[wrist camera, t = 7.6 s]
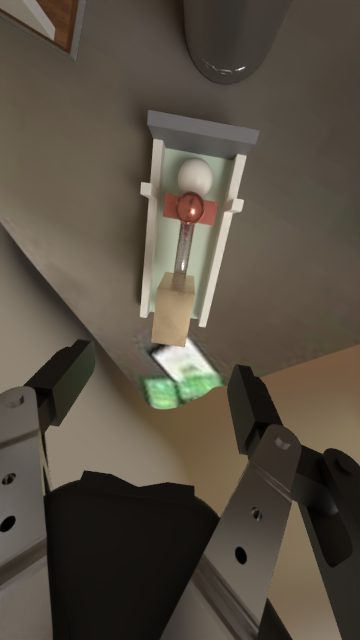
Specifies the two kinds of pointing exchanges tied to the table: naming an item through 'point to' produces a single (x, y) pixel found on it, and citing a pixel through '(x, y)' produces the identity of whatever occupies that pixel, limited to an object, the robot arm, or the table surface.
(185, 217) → the striker
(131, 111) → the table surface
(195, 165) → the ball
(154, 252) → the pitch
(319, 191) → the table surface
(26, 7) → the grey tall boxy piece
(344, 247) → the table surface
